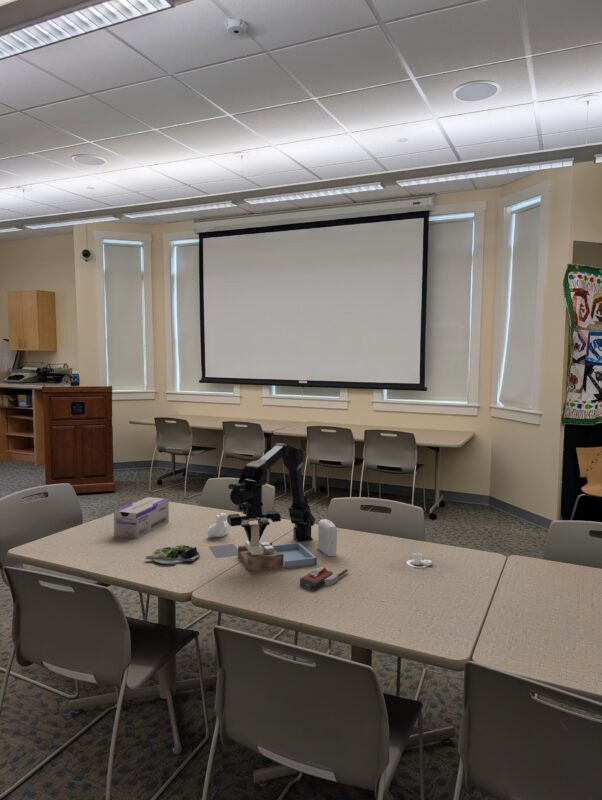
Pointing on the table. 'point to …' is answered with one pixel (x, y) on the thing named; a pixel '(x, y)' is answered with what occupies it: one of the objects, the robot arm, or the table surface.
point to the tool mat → (224, 550)
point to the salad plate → (175, 555)
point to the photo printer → (327, 537)
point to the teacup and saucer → (419, 560)
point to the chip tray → (295, 555)
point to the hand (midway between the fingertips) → (254, 541)
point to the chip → (264, 544)
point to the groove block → (260, 559)
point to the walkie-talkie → (319, 578)
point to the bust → (218, 526)
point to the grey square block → (268, 550)
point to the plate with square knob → (254, 541)
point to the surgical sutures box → (141, 517)
